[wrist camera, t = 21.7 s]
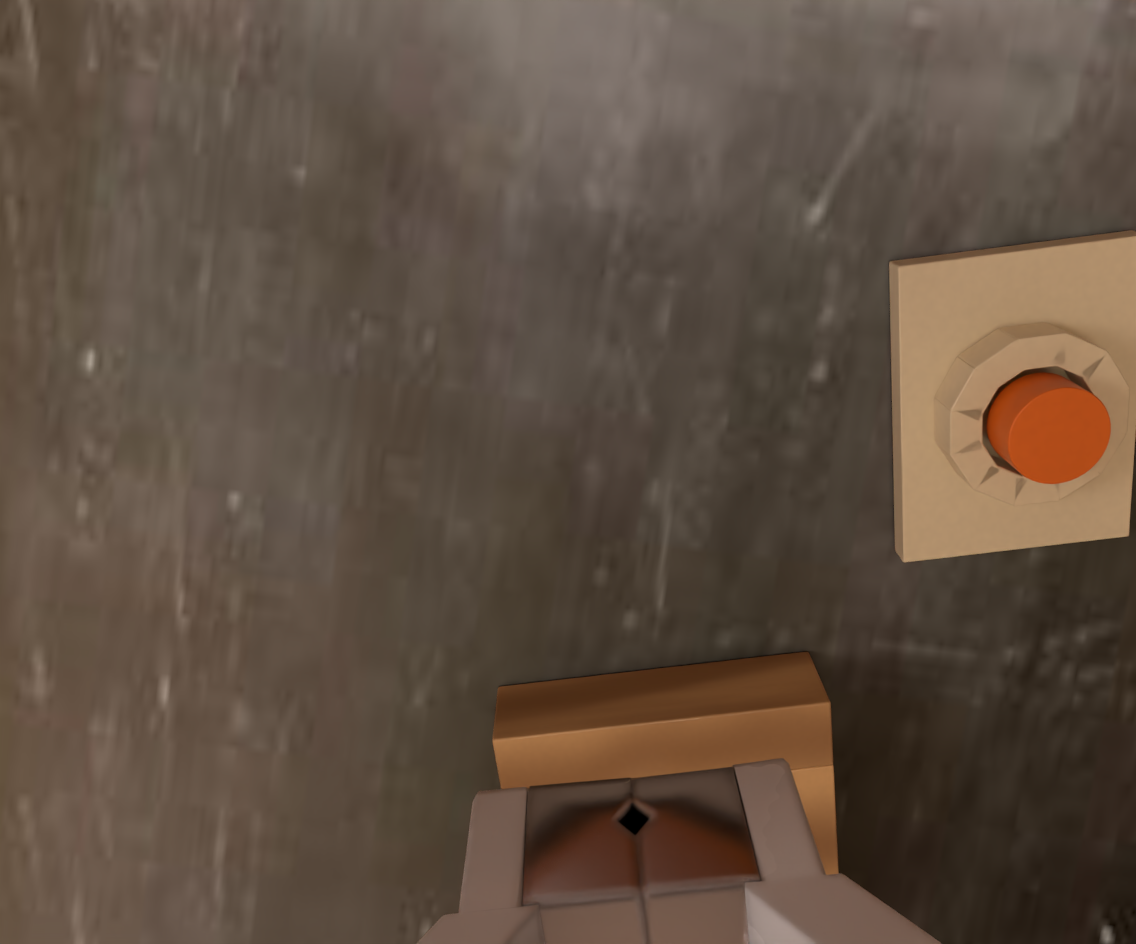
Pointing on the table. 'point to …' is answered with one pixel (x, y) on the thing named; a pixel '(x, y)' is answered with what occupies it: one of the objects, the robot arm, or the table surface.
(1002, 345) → the block
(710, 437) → the table surface
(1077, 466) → the button
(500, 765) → the dock
